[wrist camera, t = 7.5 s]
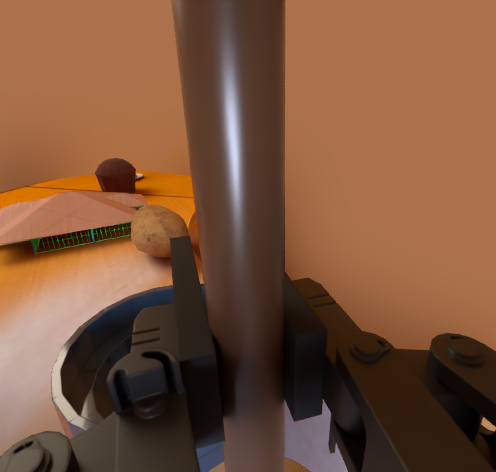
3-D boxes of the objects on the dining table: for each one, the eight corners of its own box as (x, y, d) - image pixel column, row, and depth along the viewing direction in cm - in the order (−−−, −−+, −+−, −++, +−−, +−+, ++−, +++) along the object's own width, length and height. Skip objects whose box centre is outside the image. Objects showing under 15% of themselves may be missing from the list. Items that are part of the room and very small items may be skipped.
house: (157, 231, 67) (151, 193, 64) (-39, 270, 54) (-59, 225, 51) (140, 203, 86) (135, 172, 83) (-8, 227, 74) (-21, 192, 70)
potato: (146, 278, 49) (137, 230, 46) (127, 246, 61) (118, 206, 57) (205, 261, 54) (200, 216, 51) (177, 234, 65) (171, 196, 62)
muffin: (98, 191, 100) (91, 158, 96) (135, 186, 104) (129, 154, 100) (102, 200, 90) (93, 164, 86) (142, 194, 94) (136, 160, 90)
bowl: (310, 382, 30) (312, 327, 28) (151, 576, 18) (129, 510, 16) (190, 312, 41) (184, 268, 38) (41, 407, 29) (17, 351, 26)
